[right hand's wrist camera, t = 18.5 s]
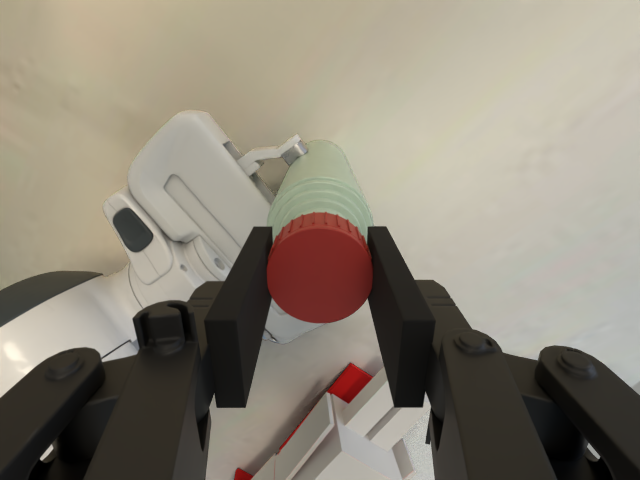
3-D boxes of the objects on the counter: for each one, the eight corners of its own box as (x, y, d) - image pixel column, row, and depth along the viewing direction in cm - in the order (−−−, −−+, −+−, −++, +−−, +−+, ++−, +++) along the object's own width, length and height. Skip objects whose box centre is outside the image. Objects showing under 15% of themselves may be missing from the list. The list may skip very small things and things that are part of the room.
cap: (340, 313, 15) (343, 340, 14) (255, 277, 15) (247, 300, 13) (387, 237, 14) (396, 256, 12) (296, 193, 13) (292, 206, 12)
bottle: (305, 129, 32) (281, 177, 12) (357, 155, 33) (418, 240, 13) (282, 182, 34) (228, 300, 14) (332, 205, 35) (350, 348, 15)
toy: (470, 453, 34) (284, 632, 39) (420, 368, 47) (285, 510, 52) (379, 393, 31) (190, 593, 36) (353, 320, 44) (217, 475, 49)
